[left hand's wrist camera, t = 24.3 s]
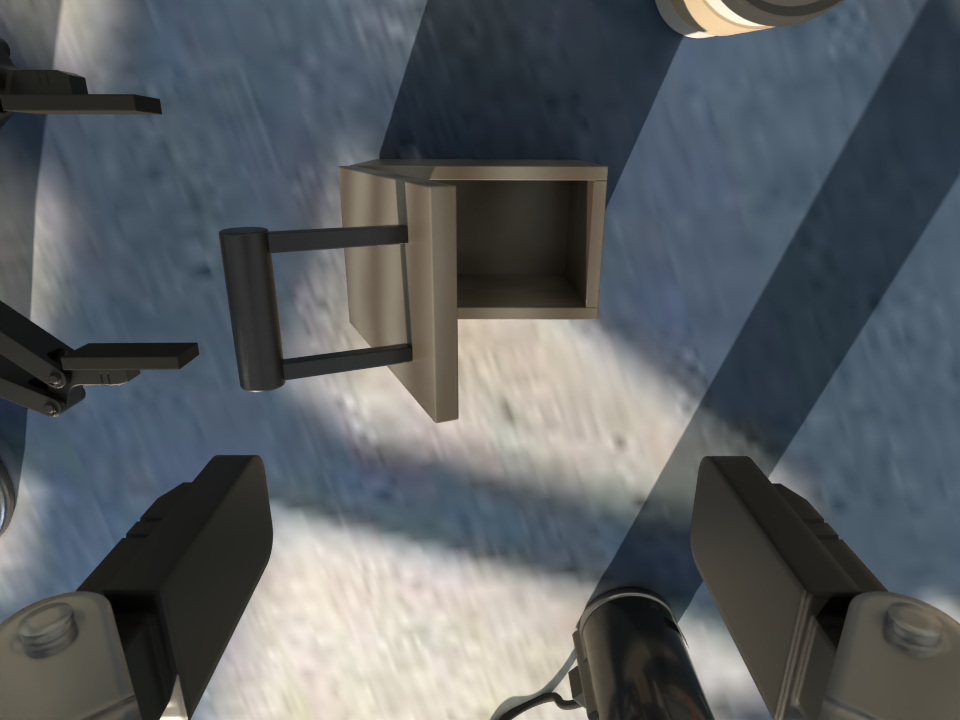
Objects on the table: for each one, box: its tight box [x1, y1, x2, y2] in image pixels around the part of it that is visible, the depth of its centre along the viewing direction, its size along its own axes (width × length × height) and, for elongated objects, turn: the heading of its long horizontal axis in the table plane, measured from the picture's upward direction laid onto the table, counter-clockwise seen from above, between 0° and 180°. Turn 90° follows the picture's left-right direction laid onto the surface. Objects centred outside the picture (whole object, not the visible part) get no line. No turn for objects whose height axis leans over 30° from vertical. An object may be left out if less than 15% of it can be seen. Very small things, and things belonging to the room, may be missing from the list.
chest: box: [350, 159, 608, 319], centre depth 42 cm, size 15×9×10 cm, turn 90°
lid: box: [219, 166, 458, 423], centre depth 29 cm, size 16×9×8 cm
